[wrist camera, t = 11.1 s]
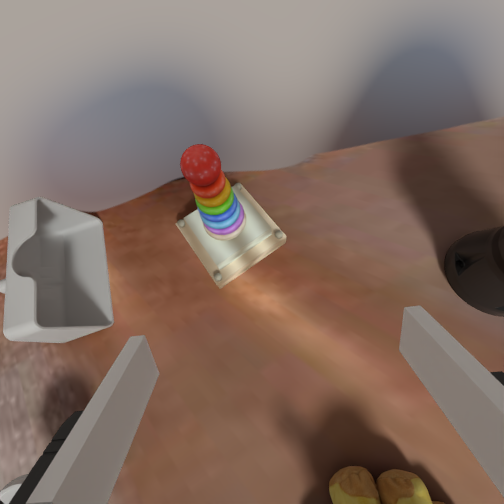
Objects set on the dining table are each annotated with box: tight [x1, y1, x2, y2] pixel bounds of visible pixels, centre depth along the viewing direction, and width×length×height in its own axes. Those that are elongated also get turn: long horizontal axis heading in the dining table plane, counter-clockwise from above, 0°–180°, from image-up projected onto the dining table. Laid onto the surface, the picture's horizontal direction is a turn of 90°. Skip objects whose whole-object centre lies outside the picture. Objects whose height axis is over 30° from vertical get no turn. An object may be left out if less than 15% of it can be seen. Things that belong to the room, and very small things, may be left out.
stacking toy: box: [180, 144, 246, 241], centre depth 39 cm, size 8×8×19 cm
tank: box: [0, 197, 114, 343], centre depth 47 cm, size 25×16×12 cm, turn 19°
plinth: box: [176, 183, 286, 289], centre depth 50 cm, size 16×16×6 cm
